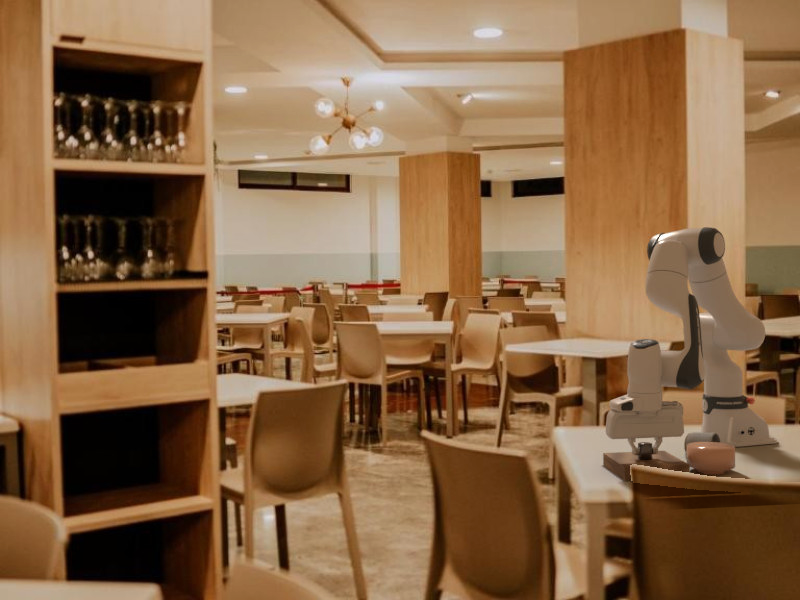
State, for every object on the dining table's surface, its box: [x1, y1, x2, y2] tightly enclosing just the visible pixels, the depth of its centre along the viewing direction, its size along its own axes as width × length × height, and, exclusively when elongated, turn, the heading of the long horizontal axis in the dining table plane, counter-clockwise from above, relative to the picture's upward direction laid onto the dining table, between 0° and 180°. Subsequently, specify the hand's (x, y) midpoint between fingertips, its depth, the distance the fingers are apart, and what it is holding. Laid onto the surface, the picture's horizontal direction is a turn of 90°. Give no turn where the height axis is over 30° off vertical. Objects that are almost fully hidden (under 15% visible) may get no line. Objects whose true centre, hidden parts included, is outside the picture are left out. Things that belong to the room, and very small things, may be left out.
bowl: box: [686, 442, 736, 475], centre depth 243 cm, size 12×12×7 cm
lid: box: [602, 441, 691, 482], centre depth 243 cm, size 17×17×8 cm
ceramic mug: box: [683, 431, 721, 461], centre depth 258 cm, size 11×8×8 cm
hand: (645, 454), depth 243 cm, fingers closed on lid, 4 cm apart
